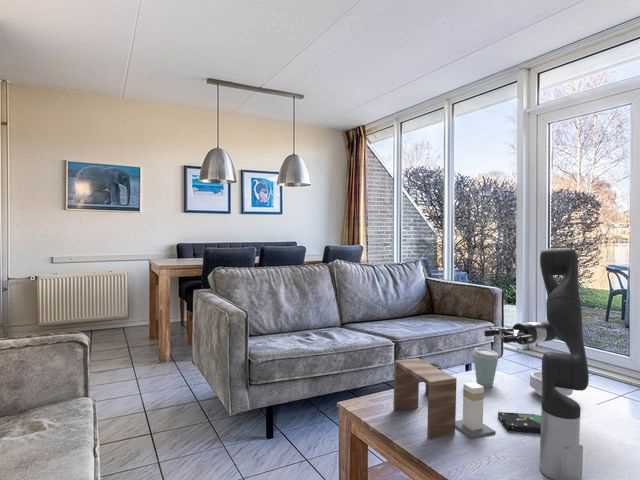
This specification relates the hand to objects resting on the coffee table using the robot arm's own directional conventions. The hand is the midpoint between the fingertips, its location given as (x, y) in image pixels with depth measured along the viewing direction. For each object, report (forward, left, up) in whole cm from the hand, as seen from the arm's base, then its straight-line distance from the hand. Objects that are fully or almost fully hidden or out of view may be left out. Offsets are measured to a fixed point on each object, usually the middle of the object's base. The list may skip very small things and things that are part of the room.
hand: (494, 336), depth 141 cm
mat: (-2, +10, -30) cm, 32 cm away
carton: (-2, +10, -29) cm, 31 cm away
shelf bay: (+8, +23, -30) cm, 39 cm away
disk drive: (-6, -9, -31) cm, 33 cm away
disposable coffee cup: (+28, -23, -30) cm, 47 cm away
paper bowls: (+10, -40, -30) cm, 51 cm away
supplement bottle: (+26, +5, -30) cm, 40 cm away
